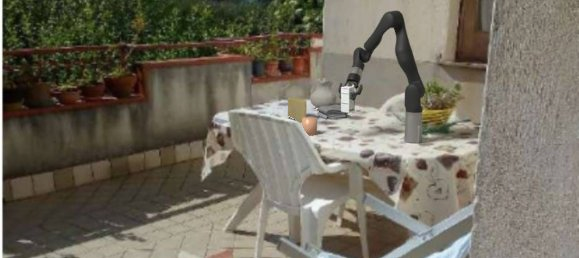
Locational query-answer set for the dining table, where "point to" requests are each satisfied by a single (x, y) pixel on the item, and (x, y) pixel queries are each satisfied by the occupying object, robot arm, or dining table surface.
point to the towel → (331, 112)
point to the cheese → (296, 108)
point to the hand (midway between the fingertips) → (346, 99)
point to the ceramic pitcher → (323, 93)
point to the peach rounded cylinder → (310, 125)
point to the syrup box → (347, 99)
